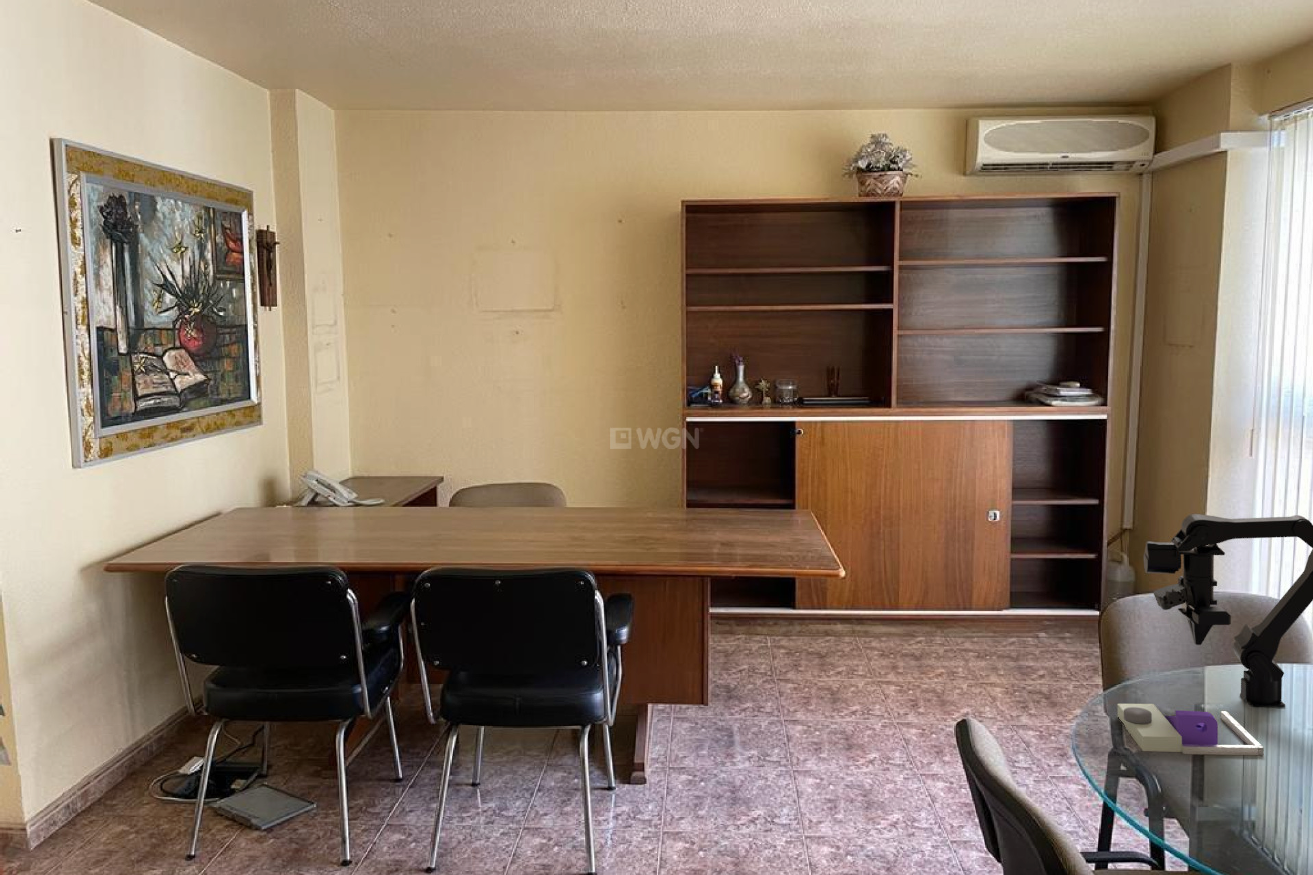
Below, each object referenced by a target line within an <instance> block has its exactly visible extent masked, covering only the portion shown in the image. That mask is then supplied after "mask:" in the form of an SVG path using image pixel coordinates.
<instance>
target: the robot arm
mask: <svg viewBox="0 0 1313 875" xmlns="http://www.w3.org/2000/svg"><path fill="white" fill-rule="evenodd" d="M1264 538H1265V539H1269V538H1270V539H1271V538H1299V539H1300V540H1301V541H1303V542H1304V543H1305V544H1307V545H1308V546H1309V547H1310V548H1312V550H1311V551H1310V553H1309V555H1308V557H1307V561H1306V563H1305V567H1304V570H1303V572H1302V573H1301V574H1300V575H1299V577H1298V578H1297V579H1296V580H1295V581H1294V583H1293V584H1292V585H1291V586H1290V588H1289V589H1288V590H1287V591H1286V592H1285V593H1284V594H1283V596H1282V597H1281V599H1279V601H1278V602H1277V603H1276V604H1275V606H1273V608H1272V610H1270V612H1269V613H1267V615H1266V616H1265V617H1264V619H1263V620H1262V621H1261V622H1260V623H1259V624H1257V625H1255V626H1253V627H1251V626H1249V625H1248V624H1244V626H1243V627H1242V629H1241V631H1240V632H1239V633H1238V635H1236V636H1234V637H1233V639H1234V640H1235V642H1234V643H1233V646H1232V648H1233V652H1234V655H1235V656H1236V657H1237V659H1238V660H1239V662H1240V663H1241V665H1242V666H1243V667H1244V668H1245V669H1247V670H1243V677H1242V678H1240V693H1239V697H1241V698H1242V699H1243V700H1244V701H1245V702H1246V703H1247V704H1249V705H1250V706H1251V707H1255V708H1259V707H1260V708H1285V707H1286V704H1285V703H1284V702H1283V700H1282V695H1283V693H1282V692H1283V691H1282V689H1283V679H1282V678H1283V677H1284V675H1285V672H1284V671H1283V670H1282V668H1281V667H1280V666H1279V664H1278V663H1277V662H1276V661H1275V660H1274V659H1275V657H1276V655H1277V652H1278V649H1279V646H1280V643H1281V640H1282V638H1283V637H1284V635H1286V633H1287V632H1288V631H1289V630H1290V628H1291V627H1292V626H1293V624H1294V623H1295V622H1296V621H1297V620H1298V619H1299V618H1300V617H1301V616H1302V614H1304V611H1306V609H1307V608H1308V607H1309V605H1310V604H1311V603H1312V602H1313V523H1312V522H1311V521H1310V520H1309V519H1307V518H1306V517H1304V516H1302V515H1298V514H1297V515H1292V516H1276V517H1275V516H1274V517H1272V516H1271V517H1246V518H1244V517H1243V518H1241V517H1240V518H1227V517H1220V516H1215V515H1208V514H1199V513H1193V514H1192V513H1191V514H1190V515H1187V516H1186V517H1185V518H1184V519H1183V521H1182V523H1181V528H1180V530H1179V531H1178V532H1177V533H1176V534H1175V535H1174V536H1173V537H1172V538H1171V539H1170V542H1157V541H1156V542H1155V541H1150V540H1149V541H1146V542H1145V549H1144V553H1143V568H1144V572H1145V573H1146V574H1170V575H1171V574H1173V575H1174V574H1176V572H1179V570H1181V569H1182V575H1179V577H1178V579H1177V581H1178V583H1175V584H1170V585H1167V586H1163V587H1161V588H1158V589H1156V590H1153V592H1152V593H1153V596H1154V598H1155V600H1156V603H1157V605H1158V606H1159V607H1160V608H1161V609H1162V610H1163V611H1167V610H1170V609H1172V608H1174V607H1177V606H1181V608H1177V610H1178V612H1180V614H1182V615H1183V616H1184V617H1185V618H1186V619H1187V623H1188V626H1189V628H1190V633H1191V636H1192V639H1193V643H1194V644H1195V645H1196V646H1201V645H1202V644H1203V642H1204V641H1205V639H1206V638H1207V636H1208V634H1209V633H1210V632H1211V629H1212V627H1213V626H1230V625H1231V624H1232V623H1231V622H1232V620H1231V618H1232V616H1231V614H1229V612H1227V611H1226V610H1225V609H1223V608H1222V607H1221V606H1217V605H1218V600H1217V599H1216V598H1215V597H1214V593H1215V592H1214V587H1218V581H1217V580H1216V579H1215V578H1214V576H1215V575H1214V574H1215V573H1214V571H1215V569H1214V568H1215V565H1214V564H1215V563H1214V562H1215V556H1225V554H1226V552H1225V551H1224V550H1223V549H1222V548H1221V547H1219V545H1218V544H1221V543H1224V542H1226V541H1230V540H1231V541H1232V540H1236V539H1237V540H1238V539H1264ZM1182 565H1183V566H1182Z"/></svg>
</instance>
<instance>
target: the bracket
mask: <svg viewBox="0 0 1313 875" xmlns="http://www.w3.org/2000/svg"><path fill="white" fill-rule="evenodd" d="M1163 716H1164V717H1165V718H1166V719H1167V720H1168V721H1169V723H1170V724H1171V725H1172V726H1173V727H1174V728H1175V730H1176V731H1177V732H1178V733H1179V734H1180V735H1181V737H1182V744H1193V745H1219V744H1218V741H1219V740H1218V739H1219V738H1218V732H1219V730H1218V728H1219V727H1218V726H1219V724H1218V721H1217V719H1216V718H1215V717H1214V715H1213V714H1212V713H1211V712H1208V711H1199V710H1198V711H1195V710H1179V709H1178V710H1175V715H1163Z"/></svg>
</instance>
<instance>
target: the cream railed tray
mask: <svg viewBox="0 0 1313 875" xmlns="http://www.w3.org/2000/svg"><path fill="white" fill-rule="evenodd" d="M1164 716H1165V715H1164V714H1163V713H1162V712H1161V711H1160V710H1159V708H1158V707H1156V705H1155V704H1154V703H1117V718H1118V717H1119V719H1120V720H1121V721H1122V722H1123V723H1124V725H1125V727H1126V728H1127V729H1126V728H1125V727H1124V728H1125V729H1126V730H1128V731H1127V732H1128V734H1131V735H1130V736H1131V737H1132V739H1133V740H1134V741H1135V742H1136V744H1137V745H1138V747H1139V748H1140V750H1141V751H1142V752H1165V753H1166V752H1169V753H1170V752H1171V753H1172V752H1173V753H1174V752H1179V753H1182V754H1183V755H1218V756H1219V755H1221V756H1224V755H1225V756H1264V753H1265V750H1264V749H1265V748H1264V747H1263V745H1262V744H1260V742H1258V740H1256V738H1255V737H1253V736H1252V735H1251V734H1250V733H1249V732H1248V731H1247V730H1246V729H1245V727H1243V726H1242V725H1241V724H1240V723H1239V722H1238V721H1237V720H1236V719H1235V718H1234V717H1233V716H1231V715H1230V713H1229V712H1228V711H1220V719H1221V720H1222V721H1223V722H1224V723H1225V724H1226V725H1227V726H1228V727H1229V728H1230V729H1231V730H1232V731H1233V732H1234V733H1235V734H1236V735H1237V736H1238V737H1239V738H1240V739H1241V740H1242V741H1243V742H1244V743H1245V744H1240V745H1239V744H1218V745H1193V744H1182V737H1181V735H1180V734H1179V733H1178V732H1177V731H1176V730H1175V728H1174V727H1173V726H1172V725H1171V724H1170V723H1169V721H1168V720H1167V719H1166V718H1165V717H1164ZM1119 719H1118V720H1119ZM1120 720H1119V721H1120ZM1121 721H1120V722H1121ZM1124 725H1123V726H1124Z"/></svg>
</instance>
